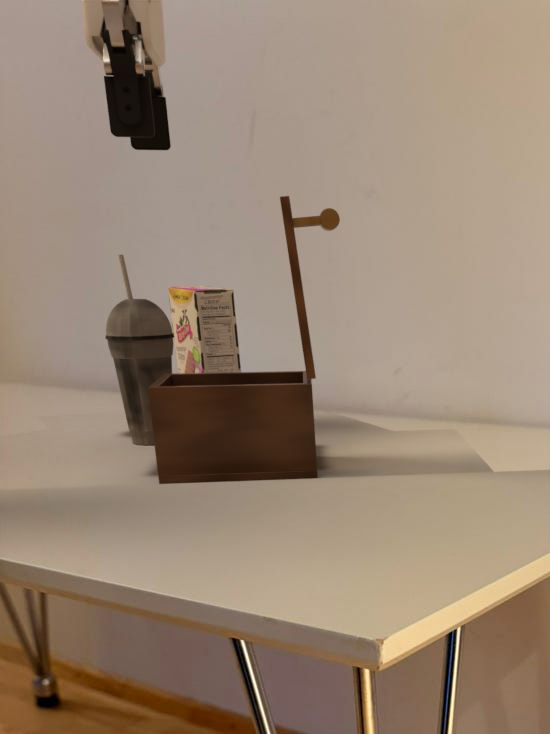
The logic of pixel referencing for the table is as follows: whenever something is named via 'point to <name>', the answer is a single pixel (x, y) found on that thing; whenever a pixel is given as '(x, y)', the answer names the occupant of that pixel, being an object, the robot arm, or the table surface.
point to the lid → (327, 222)
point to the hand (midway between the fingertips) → (143, 143)
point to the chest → (233, 426)
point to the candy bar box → (204, 329)
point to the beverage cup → (139, 356)
